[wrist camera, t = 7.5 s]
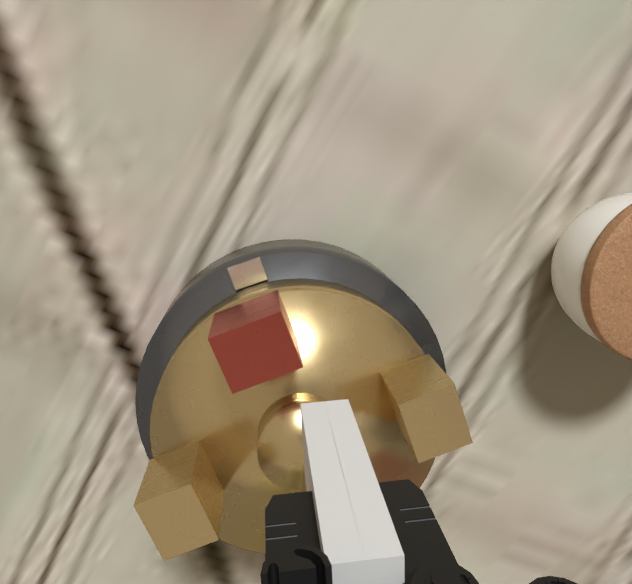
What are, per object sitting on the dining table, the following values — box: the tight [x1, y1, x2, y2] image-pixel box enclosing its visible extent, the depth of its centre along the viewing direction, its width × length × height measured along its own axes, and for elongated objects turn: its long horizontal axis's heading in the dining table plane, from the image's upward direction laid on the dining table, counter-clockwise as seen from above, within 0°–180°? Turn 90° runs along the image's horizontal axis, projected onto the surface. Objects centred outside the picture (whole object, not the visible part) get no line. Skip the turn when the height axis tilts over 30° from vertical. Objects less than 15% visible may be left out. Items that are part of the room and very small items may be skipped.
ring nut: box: [134, 278, 473, 561], centre depth 29 cm, size 17×17×7 cm
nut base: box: [135, 240, 446, 460], centre depth 35 cm, size 20×20×5 cm
